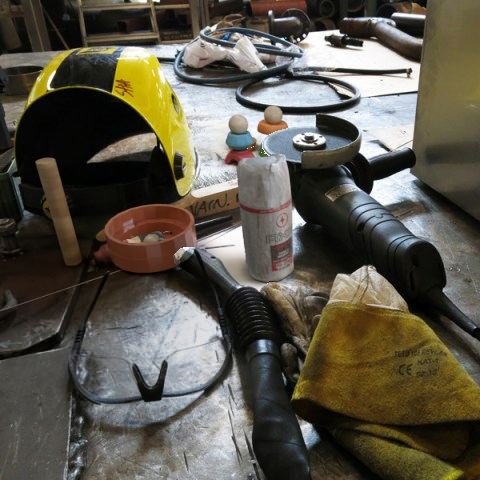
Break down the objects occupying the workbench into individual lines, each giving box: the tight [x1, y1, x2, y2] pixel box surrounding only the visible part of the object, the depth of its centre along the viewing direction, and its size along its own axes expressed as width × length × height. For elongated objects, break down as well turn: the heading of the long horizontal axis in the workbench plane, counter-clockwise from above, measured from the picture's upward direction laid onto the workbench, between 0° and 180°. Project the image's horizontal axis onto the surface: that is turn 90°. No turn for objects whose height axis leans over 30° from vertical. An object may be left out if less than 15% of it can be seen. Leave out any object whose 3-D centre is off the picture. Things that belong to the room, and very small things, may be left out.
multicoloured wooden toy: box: [224, 105, 289, 165], centre depth 121 cm, size 18×17×12 cm
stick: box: [35, 157, 83, 267], centre depth 76 cm, size 3×3×18 cm
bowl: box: [104, 203, 198, 274], centre depth 82 cm, size 14×14×6 cm
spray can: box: [236, 152, 295, 283], centre depth 75 cm, size 8×8×20 cm
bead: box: [143, 234, 160, 243], centre depth 82 cm, size 3×3×3 cm
